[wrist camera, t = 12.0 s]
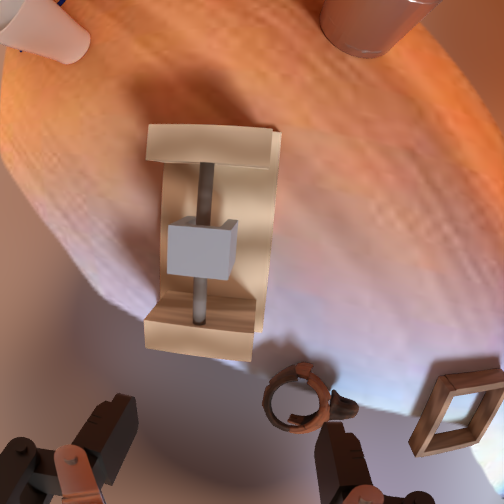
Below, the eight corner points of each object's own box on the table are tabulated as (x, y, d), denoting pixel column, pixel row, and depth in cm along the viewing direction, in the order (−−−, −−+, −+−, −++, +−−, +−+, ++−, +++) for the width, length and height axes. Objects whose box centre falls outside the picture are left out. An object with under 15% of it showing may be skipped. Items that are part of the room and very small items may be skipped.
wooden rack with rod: (169, 128, 32) (138, 113, 23) (281, 133, 32) (286, 117, 23) (162, 317, 37) (136, 354, 28) (262, 328, 37) (260, 371, 28)
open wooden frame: (439, 375, 38) (450, 390, 34) (501, 367, 37) (513, 379, 33) (407, 442, 41) (414, 458, 37) (469, 430, 41) (477, 443, 37)
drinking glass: (106, 33, 29) (40, -17, 14) (76, 77, 30) (-2, 45, 16) (76, 20, 28) (11, -23, 14) (48, 61, 30) (-26, 32, 15)
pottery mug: (270, 419, 41) (253, 436, 33) (275, 356, 43) (260, 362, 35) (354, 426, 37) (355, 446, 29) (362, 361, 39) (365, 368, 31)
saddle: (187, 215, 30) (168, 225, 24) (238, 219, 30) (231, 230, 24) (185, 255, 31) (167, 273, 25) (235, 260, 31) (227, 280, 25)
